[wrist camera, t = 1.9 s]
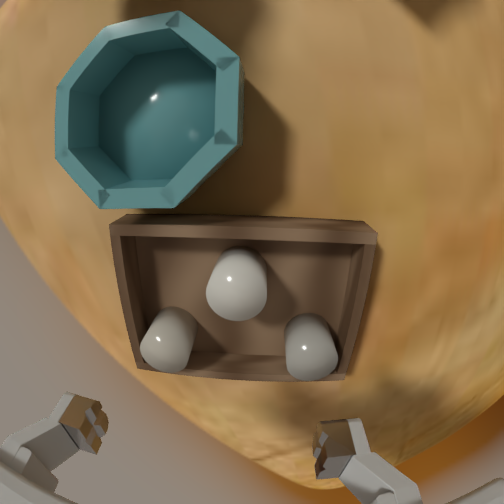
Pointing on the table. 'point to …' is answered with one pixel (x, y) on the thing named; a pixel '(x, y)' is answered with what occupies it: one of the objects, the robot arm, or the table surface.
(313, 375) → the pebble
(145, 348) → the pebble
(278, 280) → the tray
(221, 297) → the pebble
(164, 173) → the bowl
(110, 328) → the table surface
